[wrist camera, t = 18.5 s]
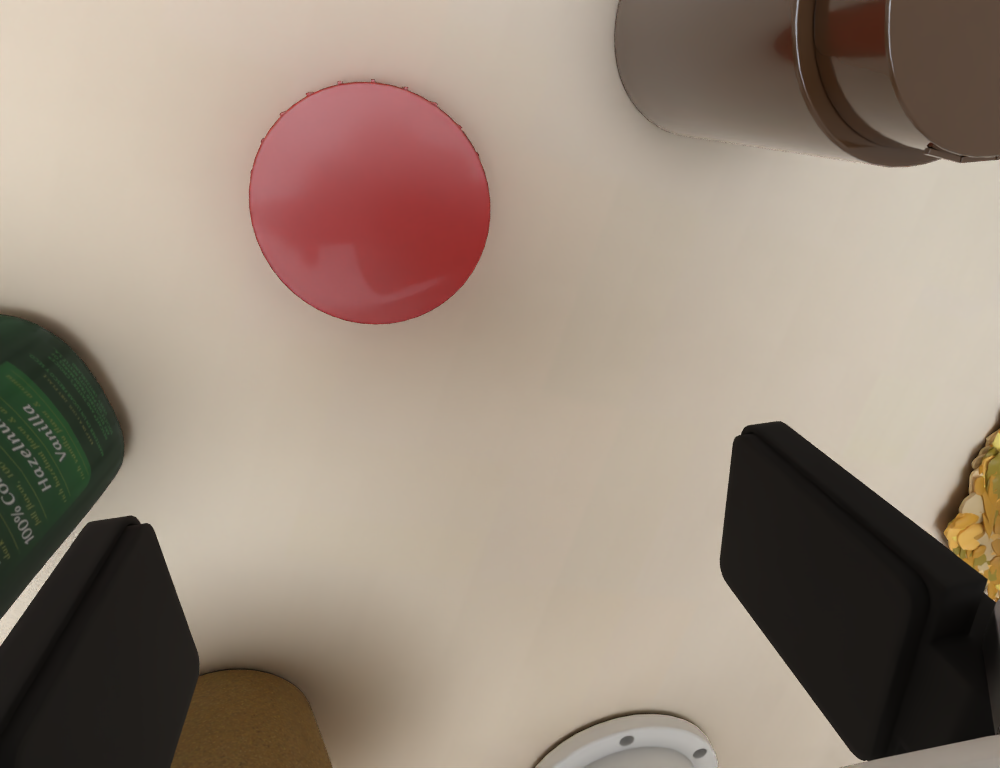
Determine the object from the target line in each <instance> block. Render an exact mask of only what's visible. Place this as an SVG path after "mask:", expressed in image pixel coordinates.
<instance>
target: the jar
mask: <svg viewBox="0 0 1000 768" xmlns="http://www.w3.org/2000/svg"><path fill="white" fill-rule="evenodd" d="M615 52H616V59H617V66H618V69H619V73H620V77H621V80H622V82H623V85H624V87H625V90H626V92H627V94H628V95H629V97H630V99H631V101H632V102H633V104H634V105H635V106H636V108H637V109H638V110H639V112H640V113H641V114H643V115H644V116H645V117H646V118H647V119H648V120H649V121H650V122H652V123H653V124H654V125H656V126H657V127H659V128H661V129H663V130H665V131H667V132H669V133H673V134H676V135H680V136H686V137H692V138H699V139H706V140H712V141H719V142H725V143H732V144H739V145H745V146H752V147H758V148H765V149H772V150H778V151H785V152H791V153H798V154H804V155H811V156H818V157H824V158H831V159H837V160H844V161H851V162H857V163H864V164H870V165H877V166H884V167H910V166H917V165H923V164H927V163H930V162H933V161H936V160H940V159H945V160H948V161H952V162H956V163H967V162H978V161H989V160H999V159H1000V0H620V2H619V7H618V12H617V17H616V26H615Z"/></svg>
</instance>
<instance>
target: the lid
mask: <svg viewBox="0 0 1000 768" xmlns="http://www.w3.org/2000/svg"><path fill="white" fill-rule="evenodd" d="M337 83H338V85H334V86H331V87H327V88H324V89H321V90H319V91H317V92H315V93H314V92H308V93H306V95H307V96H306V97H305V98H303V99H302V100H300V101H299V102H297V103H296V104H294V105H293V106H292V107H290V108H289V109H288V110H287V111H284V112H281V113H280V115H281V116H280V118H279V119H278V120H277V121H276V122H275V124H274V125H273V126H272V127H271V128H270V130H269V132H268V133H267V135H266V136H265V138H263V139H262V140H261V142H262V143H261V145H260V148H259V150H258V153H257V155H256V157H255V160H254V164H253V168H252V170H251V177H250V186H249V209H250V215H251V221H252V226H253V229H254V233H255V236H256V239H257V242H258V244H259V246H260V248H261V251H262V253H263V255H264V257H265V258H266V260H267V262H268V263H269V265H270V267H271V268H272V270H273V271H274V272H275V273H276V275H277V276H278V277H279V279H280V280H281V281H282V282H283V283H284V284H285V285H286V286H287V287H288V288H289V289H290V290H291V291H292V292H293V293H294V294H296V295H297V296H298V297H299V298H301V299H302V300H303V301H305V302H306V303H308V304H309V305H311V306H313V307H314V308H316V309H318V310H320V311H322V312H324V313H326V314H329V315H331V316H333V317H337V318H340V319H343V320H346V321H351V322H356V323H363V324H390V323H396V322H402V321H406V320H409V319H412V318H416V317H418V316H421V315H423V314H425V313H427V312H429V311H431V310H433V309H435V308H436V307H438V306H440V305H441V304H443V303H444V302H445V301H446V300H448V299H449V298H450V297H451V296H453V295H454V294H455V293H456V292H457V291H458V290H459V289H460V288H461V287H462V286H463V284H464V283H465V282H466V280H467V279H468V278H469V276H470V275H471V274H472V272H473V270H474V269H475V267H476V265H477V263H478V261H479V259H480V257H481V254H482V252H483V249H484V247H485V243H486V239H487V235H488V231H489V223H490V197H489V189H488V183H487V180H486V176H485V172H484V169H483V167H482V164H481V162H480V159H479V157H478V156H479V154H478V153H477V152H476V151H475V149H474V147H473V146H472V144H471V142H470V141H469V139H468V138H467V136H466V135H465V134H464V132H463V131H462V130H461V128H462V127H461V126H460V125H458V124H456V123H455V122H454V121H453V120H452V119H451V118H450V117H449V116H448V115H447V114H446V113H445V112H443V111H442V110H441V109H440V108H438V107H437V105H438V104H437V103H435V102H431V101H428V100H426V99H425V98H423V97H421V96H419V95H417V94H415V93H413V92H410V91H408V87H402V88H399V87H396V86H392V85H388V84H382V83H375V79H371V82H352V83H344V84H343V82H342V81H338V82H337Z"/></svg>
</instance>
